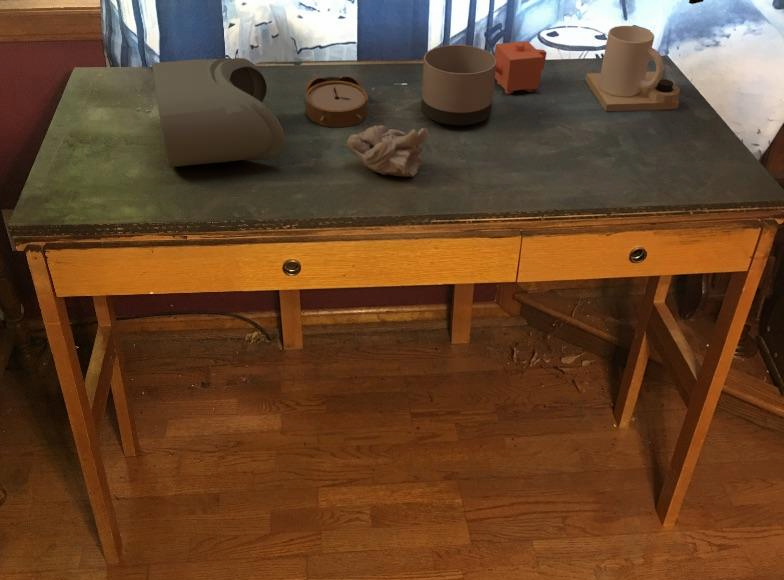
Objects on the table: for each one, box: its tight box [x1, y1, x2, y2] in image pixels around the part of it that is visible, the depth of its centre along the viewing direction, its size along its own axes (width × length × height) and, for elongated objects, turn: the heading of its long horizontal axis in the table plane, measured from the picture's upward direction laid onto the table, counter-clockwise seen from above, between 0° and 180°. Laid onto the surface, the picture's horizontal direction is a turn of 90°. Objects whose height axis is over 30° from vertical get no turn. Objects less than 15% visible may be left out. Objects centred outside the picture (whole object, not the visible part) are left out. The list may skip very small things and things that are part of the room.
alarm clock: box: [305, 75, 368, 128], centre depth 158 cm, size 11×5×15 cm
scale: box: [584, 71, 681, 112], centre depth 165 cm, size 14×14×3 cm
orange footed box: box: [493, 40, 547, 94], centre depth 165 cm, size 8×12×8 cm, turn 105°
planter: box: [420, 44, 497, 127], centre depth 154 cm, size 13×13×10 cm
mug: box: [599, 25, 665, 97], centre depth 160 cm, size 12×8×10 cm
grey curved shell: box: [151, 57, 286, 168], centre depth 143 cm, size 22×19×13 cm
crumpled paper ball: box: [346, 124, 429, 178], centre depth 140 cm, size 8×10×12 cm
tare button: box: [656, 78, 674, 93], centre depth 161 cm, size 3×3×2 cm
